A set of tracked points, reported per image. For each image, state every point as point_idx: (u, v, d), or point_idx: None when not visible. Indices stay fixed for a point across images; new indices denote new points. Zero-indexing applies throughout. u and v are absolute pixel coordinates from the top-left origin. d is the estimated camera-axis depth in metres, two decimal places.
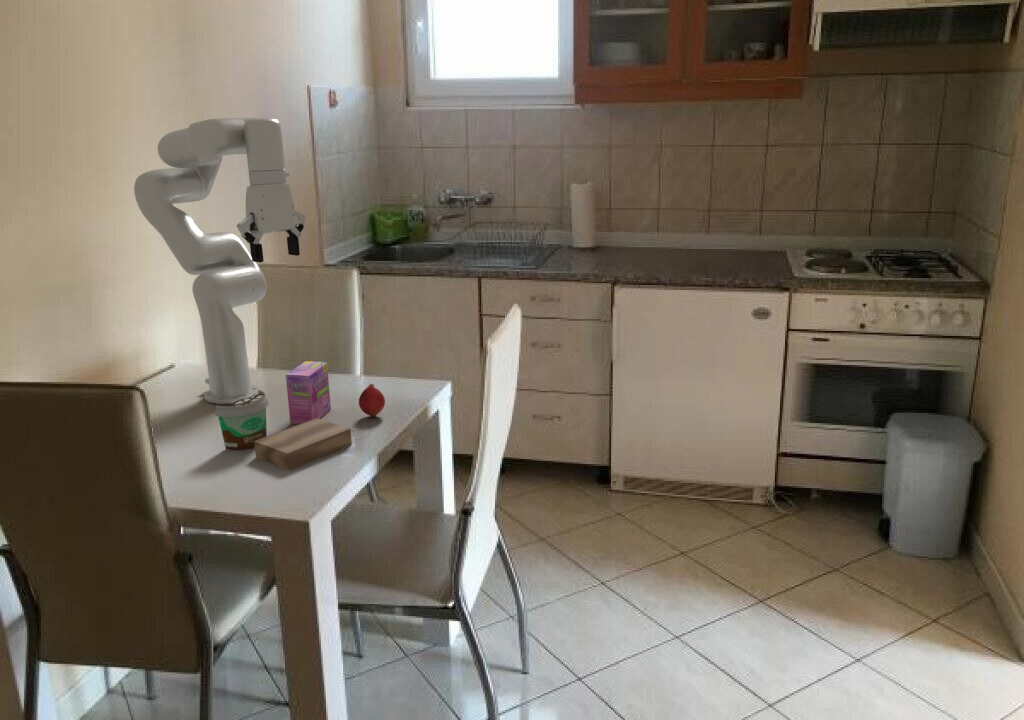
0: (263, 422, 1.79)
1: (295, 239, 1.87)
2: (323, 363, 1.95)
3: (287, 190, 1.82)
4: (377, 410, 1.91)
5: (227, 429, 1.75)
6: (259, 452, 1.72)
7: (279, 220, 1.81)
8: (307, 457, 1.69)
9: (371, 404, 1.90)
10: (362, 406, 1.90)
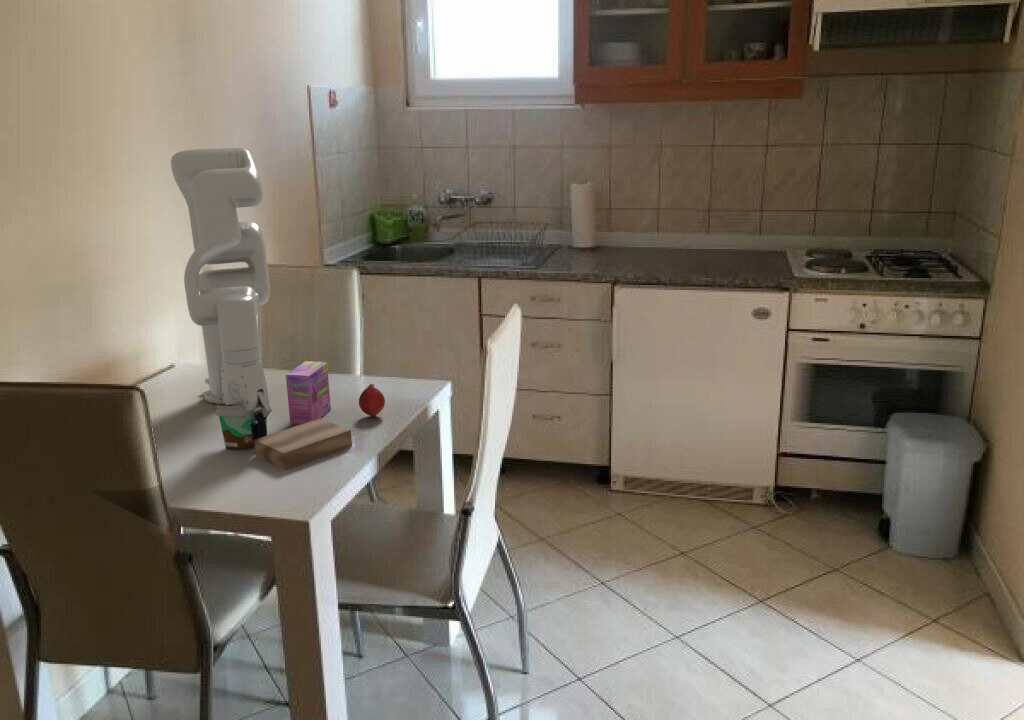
0: None
1: None
2: (323, 363, 1.95)
3: None
4: (377, 410, 1.91)
5: (227, 429, 1.75)
6: (259, 451, 1.72)
7: None
8: (304, 457, 1.69)
9: (371, 404, 1.90)
10: (362, 405, 1.90)
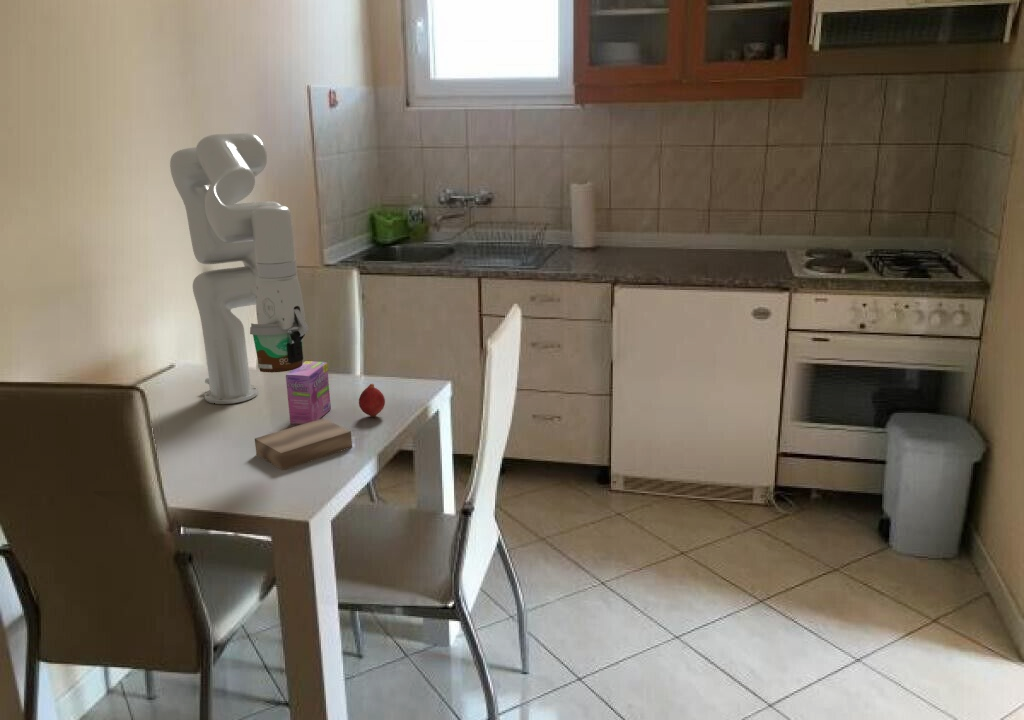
0: None
1: None
2: (323, 363, 1.95)
3: None
4: (377, 410, 1.91)
5: (262, 349, 1.66)
6: (259, 449, 1.73)
7: None
8: (302, 457, 1.69)
9: (371, 404, 1.90)
10: (362, 406, 1.90)
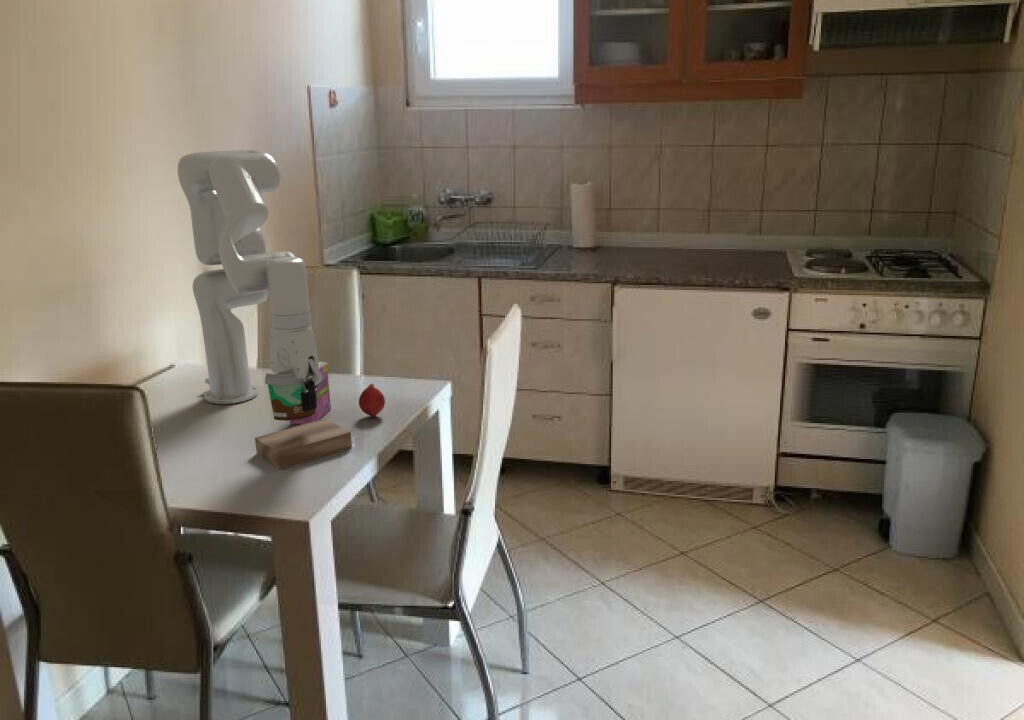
0: None
1: None
2: (323, 363, 1.95)
3: None
4: (377, 410, 1.91)
5: (276, 398, 1.68)
6: (259, 449, 1.73)
7: None
8: (301, 457, 1.69)
9: (371, 404, 1.90)
10: (362, 405, 1.90)
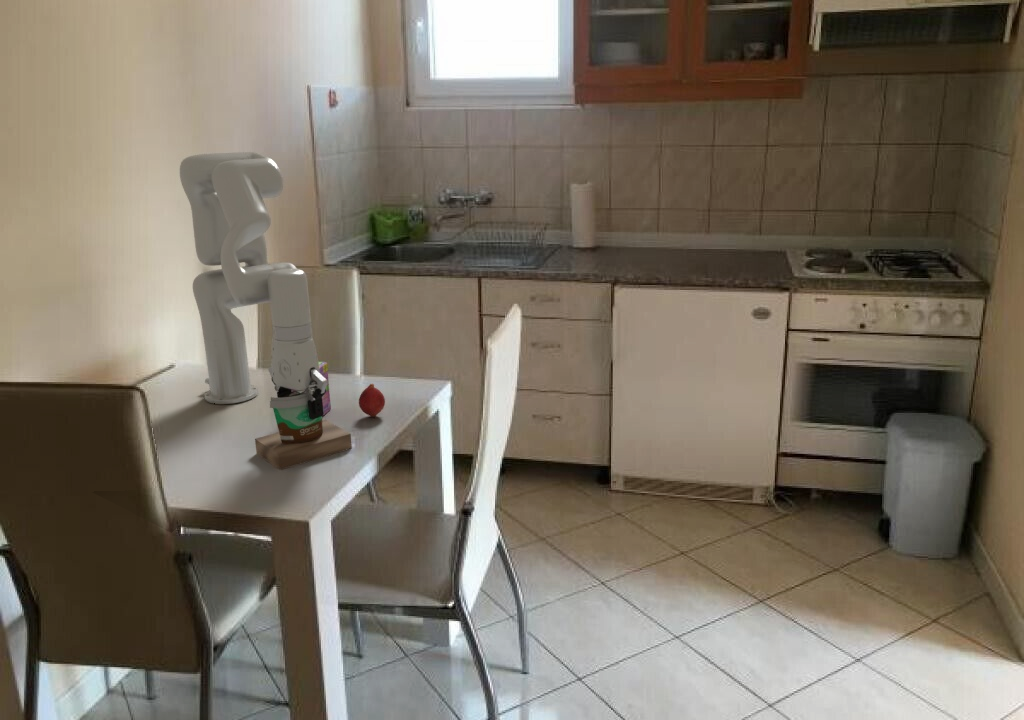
0: None
1: (290, 390, 1.76)
2: (323, 363, 1.95)
3: None
4: (377, 410, 1.91)
5: (282, 421, 1.69)
6: (259, 450, 1.73)
7: None
8: (300, 459, 1.69)
9: (371, 404, 1.90)
10: (362, 406, 1.90)
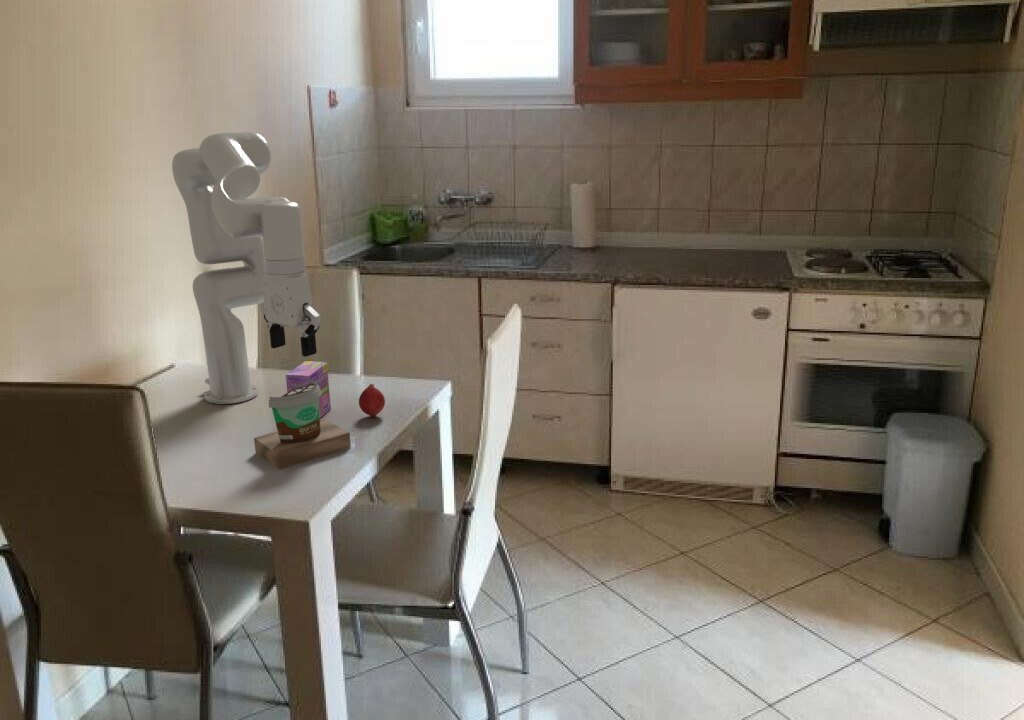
0: (317, 412, 1.73)
1: (283, 328, 1.72)
2: (323, 363, 1.95)
3: None
4: (377, 410, 1.91)
5: (281, 421, 1.69)
6: (258, 449, 1.73)
7: None
8: (299, 458, 1.69)
9: (371, 404, 1.90)
10: (362, 406, 1.90)
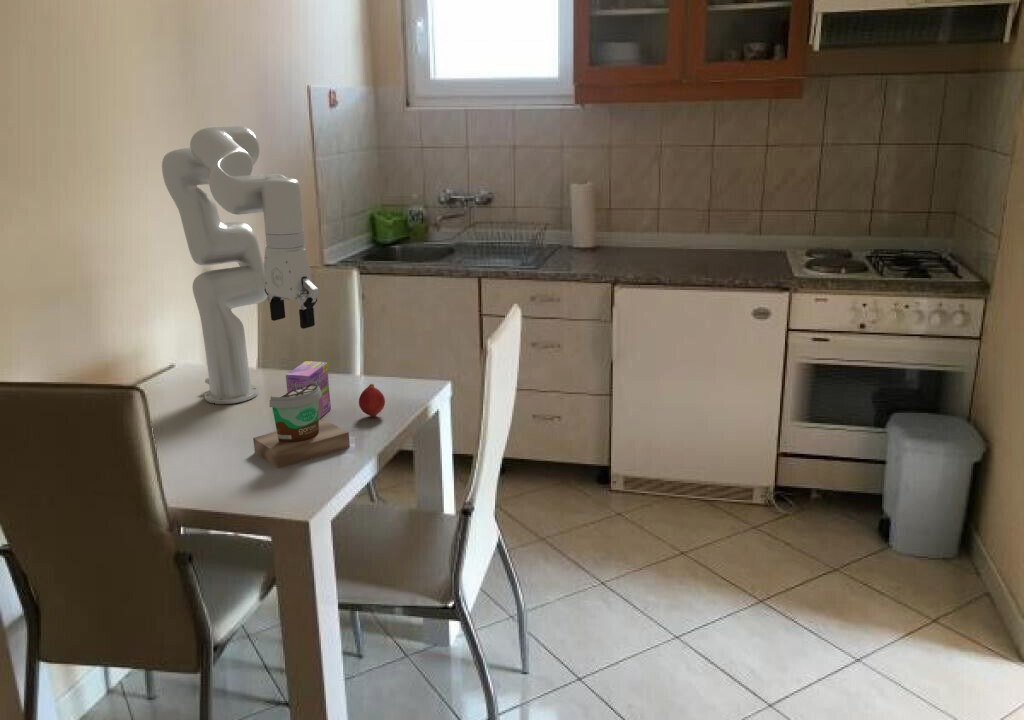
0: (317, 413, 1.74)
1: (283, 301, 1.78)
2: (323, 363, 1.95)
3: None
4: (377, 410, 1.91)
5: (281, 421, 1.70)
6: (257, 449, 1.74)
7: None
8: (299, 458, 1.70)
9: (371, 404, 1.90)
10: (362, 406, 1.90)
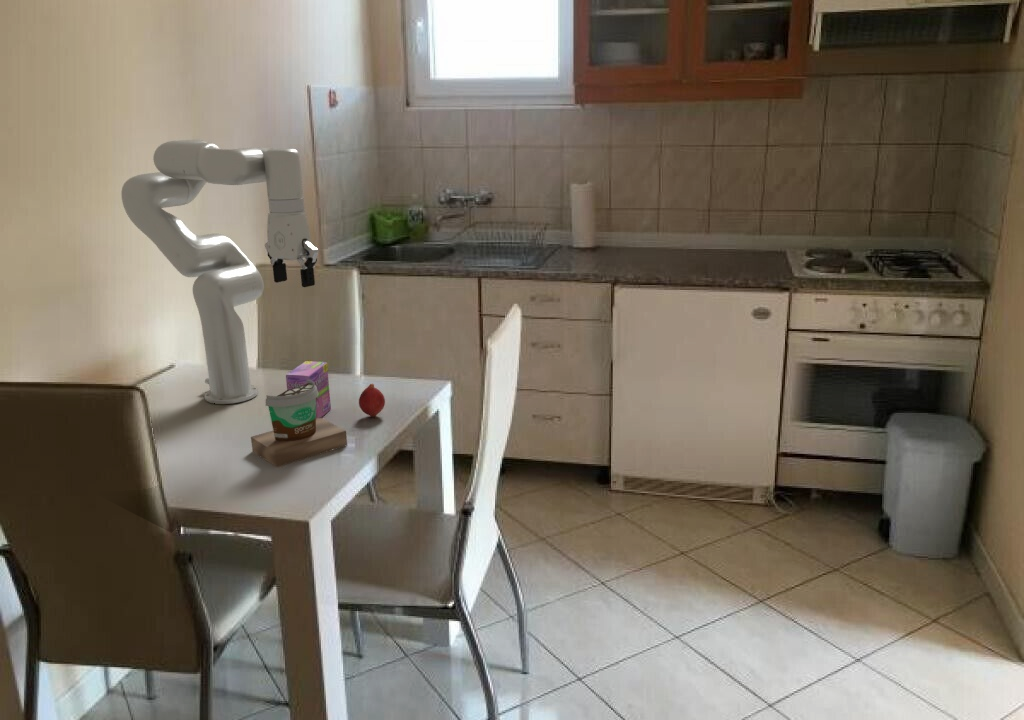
0: (313, 412, 1.74)
1: (285, 264, 1.93)
2: (323, 363, 1.95)
3: None
4: (377, 410, 1.91)
5: (277, 420, 1.70)
6: (254, 448, 1.74)
7: None
8: (296, 456, 1.70)
9: (371, 404, 1.90)
10: (362, 405, 1.90)
